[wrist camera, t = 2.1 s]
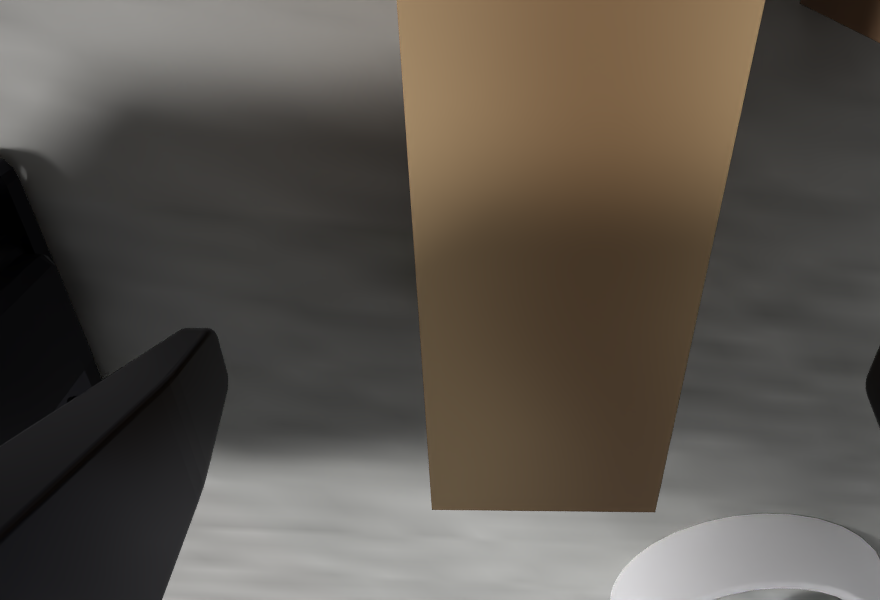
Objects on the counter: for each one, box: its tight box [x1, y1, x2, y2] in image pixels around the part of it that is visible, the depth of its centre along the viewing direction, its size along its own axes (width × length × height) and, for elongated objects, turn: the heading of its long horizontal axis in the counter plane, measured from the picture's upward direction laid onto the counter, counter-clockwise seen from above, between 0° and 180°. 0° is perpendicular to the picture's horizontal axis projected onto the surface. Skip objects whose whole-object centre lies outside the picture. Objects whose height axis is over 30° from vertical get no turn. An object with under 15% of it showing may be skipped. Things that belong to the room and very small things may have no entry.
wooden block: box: [397, 0, 765, 512], centre depth 10 cm, size 4×10×5 cm, turn 2°
